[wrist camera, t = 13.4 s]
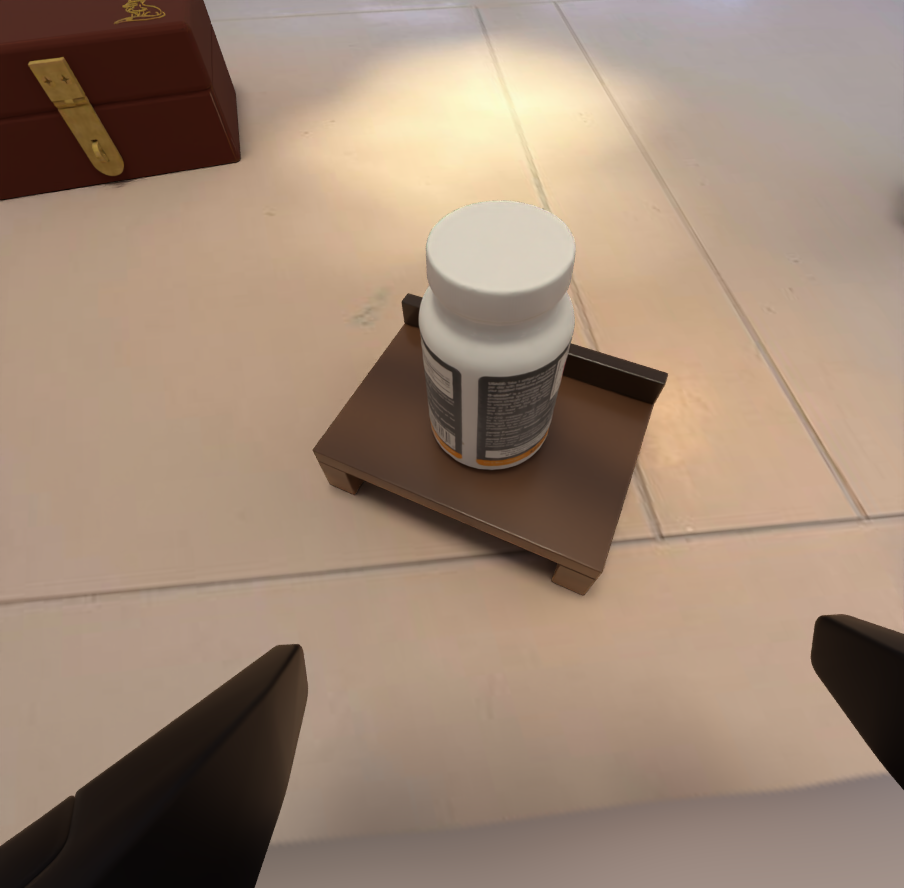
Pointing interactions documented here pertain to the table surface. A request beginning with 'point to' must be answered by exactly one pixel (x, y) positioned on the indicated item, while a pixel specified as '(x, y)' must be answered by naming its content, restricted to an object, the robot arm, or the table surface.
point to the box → (110, 93)
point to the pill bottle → (496, 329)
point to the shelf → (510, 489)
